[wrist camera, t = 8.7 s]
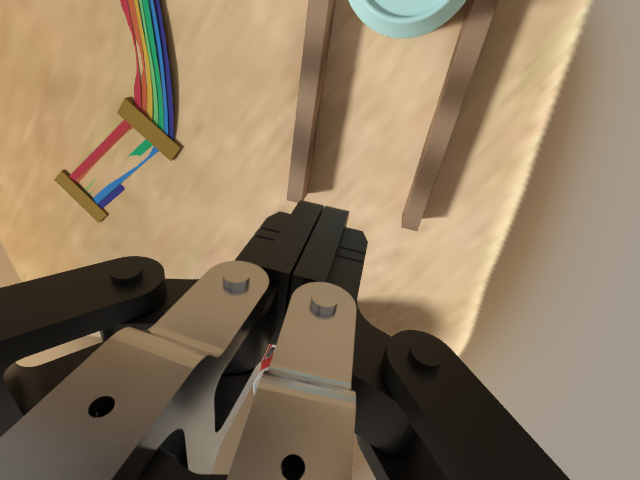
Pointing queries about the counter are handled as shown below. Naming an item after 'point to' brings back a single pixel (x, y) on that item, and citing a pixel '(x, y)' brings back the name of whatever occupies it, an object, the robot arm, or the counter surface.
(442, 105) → the channel
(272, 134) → the counter surface
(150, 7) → the ribbon cable
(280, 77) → the counter surface
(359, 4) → the can
